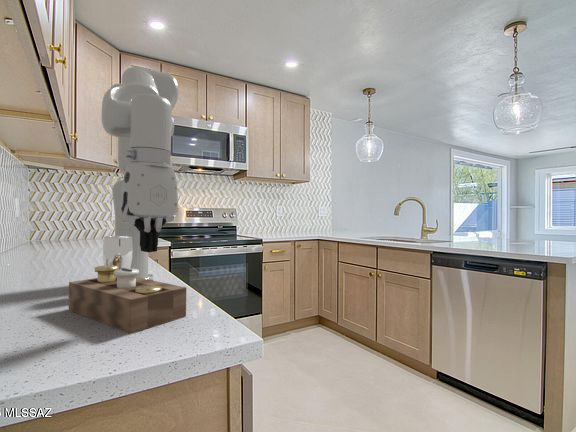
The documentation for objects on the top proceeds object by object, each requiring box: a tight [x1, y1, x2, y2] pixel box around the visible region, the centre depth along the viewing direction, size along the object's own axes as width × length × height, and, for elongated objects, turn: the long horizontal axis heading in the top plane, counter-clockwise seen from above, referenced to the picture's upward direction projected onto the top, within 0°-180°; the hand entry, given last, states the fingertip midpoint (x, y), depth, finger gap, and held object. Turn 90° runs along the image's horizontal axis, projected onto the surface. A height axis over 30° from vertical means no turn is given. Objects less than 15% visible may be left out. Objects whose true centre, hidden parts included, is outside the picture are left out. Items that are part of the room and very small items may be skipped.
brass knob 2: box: [135, 286, 162, 295], centre depth 64 cm, size 5×5×6 cm
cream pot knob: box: [114, 268, 139, 289], centre depth 69 cm, size 5×5×6 cm
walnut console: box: [68, 276, 187, 334], centre depth 69 cm, size 24×12×6 cm, turn 57°
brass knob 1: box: [94, 265, 119, 284], centre depth 73 cm, size 5×5×6 cm
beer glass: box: [102, 235, 133, 270], centre depth 85 cm, size 7×7×15 cm
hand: (148, 251), depth 65 cm, fingers closed
